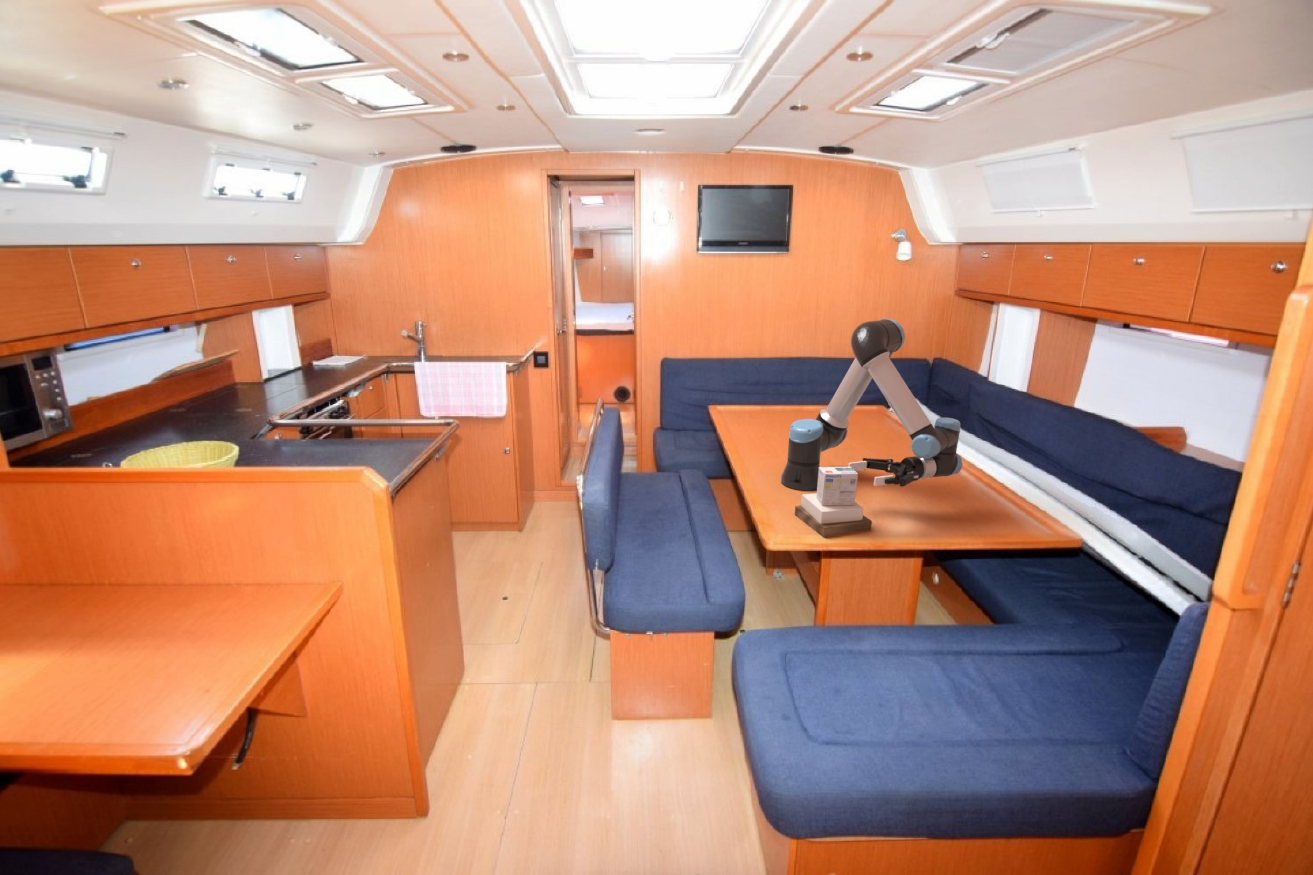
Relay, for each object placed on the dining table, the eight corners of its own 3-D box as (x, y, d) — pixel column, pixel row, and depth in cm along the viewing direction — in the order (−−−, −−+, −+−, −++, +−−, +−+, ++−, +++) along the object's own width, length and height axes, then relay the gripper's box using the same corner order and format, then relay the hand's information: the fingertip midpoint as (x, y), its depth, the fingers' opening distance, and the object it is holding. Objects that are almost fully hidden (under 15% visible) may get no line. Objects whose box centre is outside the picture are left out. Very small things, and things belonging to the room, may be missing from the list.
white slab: (800, 505, 201) (801, 494, 200) (839, 502, 204) (841, 491, 203) (820, 523, 188) (821, 511, 187) (862, 520, 191) (863, 508, 190)
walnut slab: (794, 517, 202) (795, 505, 201) (839, 511, 207) (840, 500, 206) (823, 539, 187) (824, 527, 186) (870, 532, 192) (871, 520, 191)
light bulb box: (847, 497, 198) (851, 465, 195) (855, 505, 192) (859, 473, 188) (815, 497, 197) (818, 466, 194) (821, 506, 191) (825, 473, 188)
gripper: (943, 492, 190) (885, 500, 184) (891, 466, 213) (837, 471, 207) (946, 469, 188) (888, 476, 182) (893, 445, 211) (840, 450, 205)
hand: (861, 474), depth 195 cm, fingers open, 13 cm apart
